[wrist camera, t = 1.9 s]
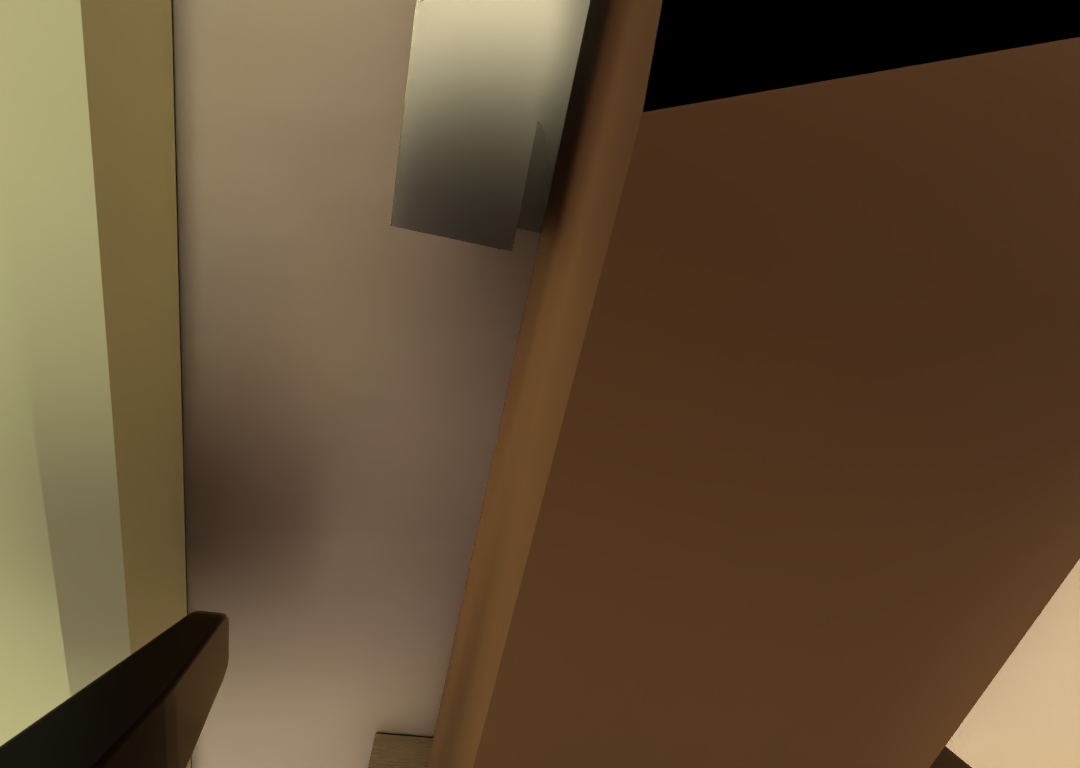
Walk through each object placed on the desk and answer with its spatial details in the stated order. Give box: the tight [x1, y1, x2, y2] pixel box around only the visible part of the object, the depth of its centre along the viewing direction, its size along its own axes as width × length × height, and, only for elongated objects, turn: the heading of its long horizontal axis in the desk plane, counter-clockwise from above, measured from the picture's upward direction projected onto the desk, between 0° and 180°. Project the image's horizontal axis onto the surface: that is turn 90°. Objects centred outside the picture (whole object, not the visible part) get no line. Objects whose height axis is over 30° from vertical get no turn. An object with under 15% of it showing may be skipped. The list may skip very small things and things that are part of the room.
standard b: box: [391, 0, 955, 251], centre depth 6 cm, size 3×5×5 cm, turn 78°
